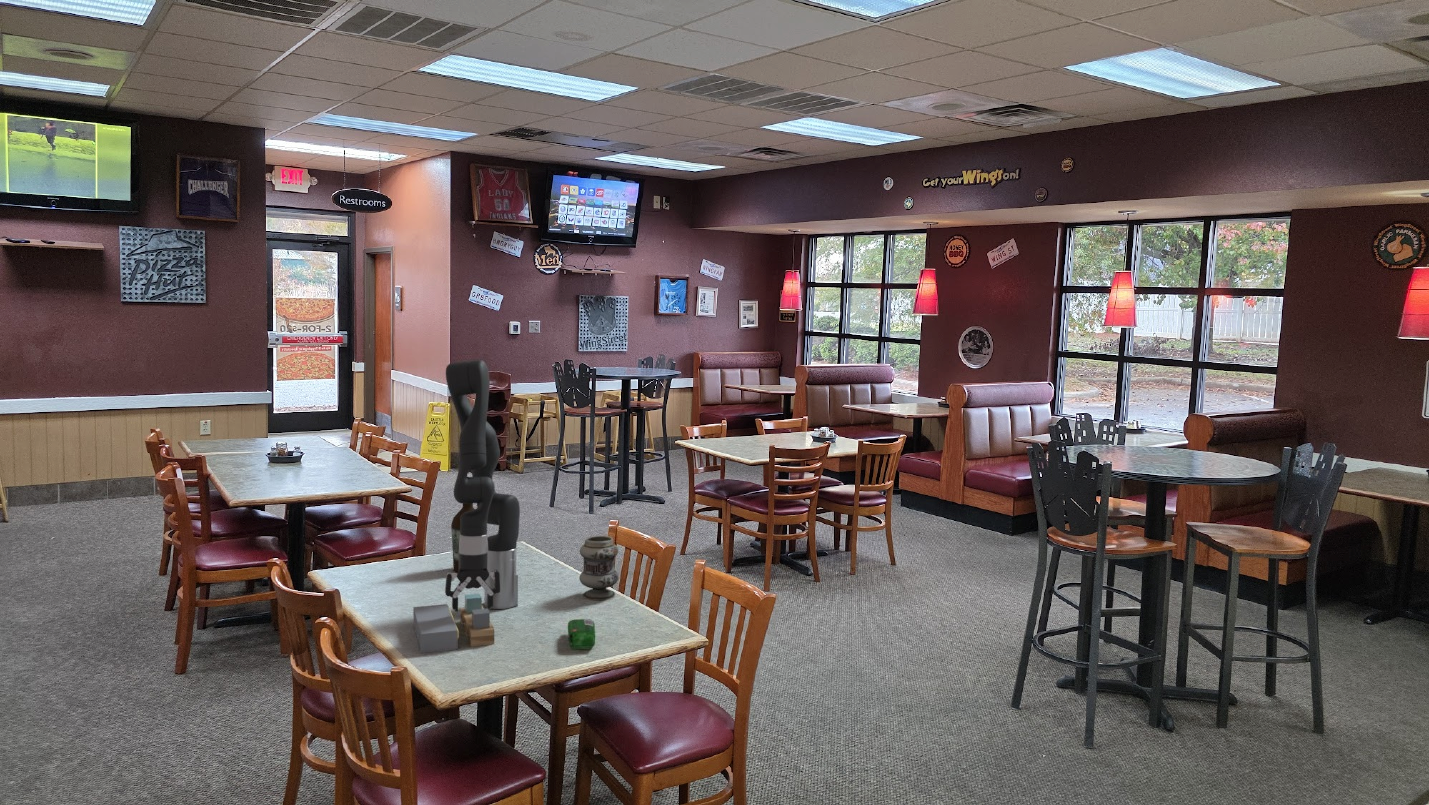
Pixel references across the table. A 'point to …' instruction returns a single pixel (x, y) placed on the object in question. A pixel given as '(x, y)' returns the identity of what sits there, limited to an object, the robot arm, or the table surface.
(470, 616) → the board
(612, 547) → the apothecary jar
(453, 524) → the olive oil
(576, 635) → the snack package
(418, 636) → the dock
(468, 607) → the block
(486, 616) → the block
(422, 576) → the table surface
